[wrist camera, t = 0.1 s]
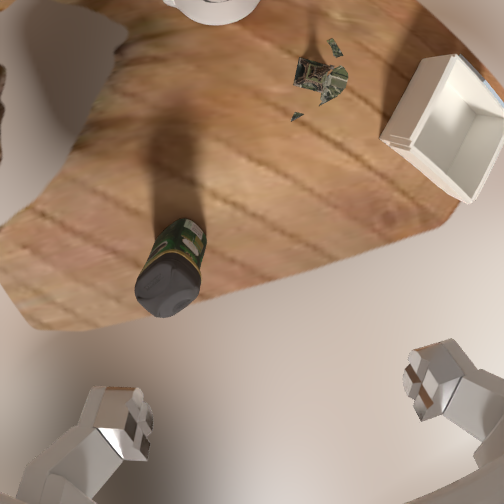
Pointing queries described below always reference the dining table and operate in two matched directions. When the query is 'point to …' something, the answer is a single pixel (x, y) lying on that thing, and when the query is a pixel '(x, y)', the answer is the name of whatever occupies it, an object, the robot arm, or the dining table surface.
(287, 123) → the dining table surface
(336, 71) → the eiffel tower figurine
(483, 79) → the lid flap
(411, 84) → the carton
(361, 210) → the dining table surface
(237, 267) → the dining table surface
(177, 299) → the coffee jar
